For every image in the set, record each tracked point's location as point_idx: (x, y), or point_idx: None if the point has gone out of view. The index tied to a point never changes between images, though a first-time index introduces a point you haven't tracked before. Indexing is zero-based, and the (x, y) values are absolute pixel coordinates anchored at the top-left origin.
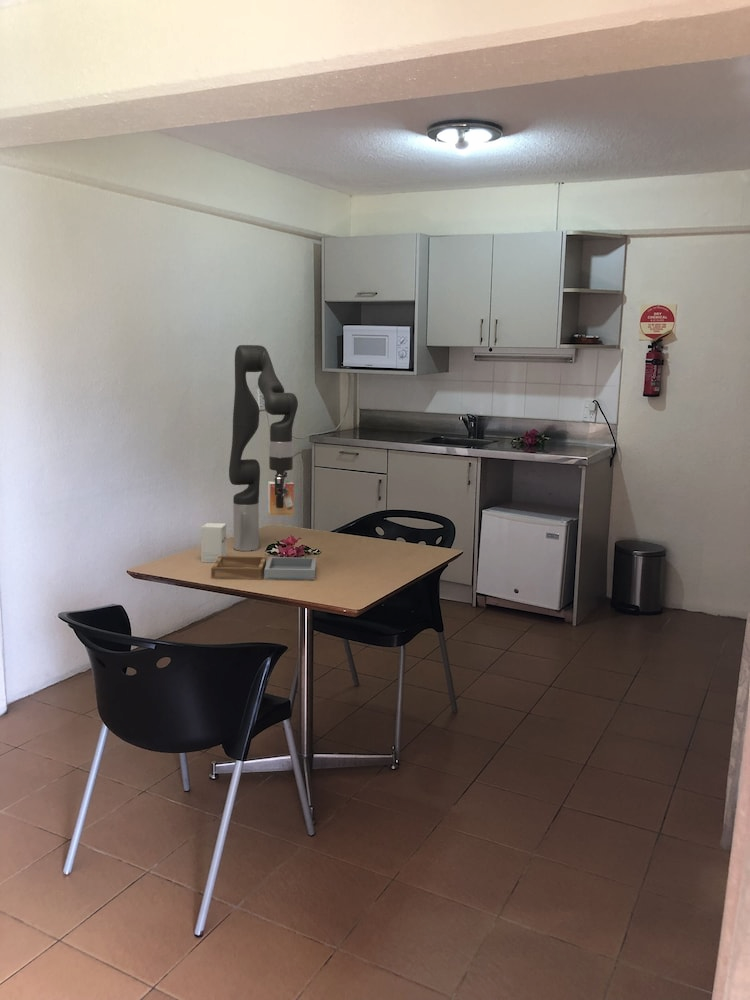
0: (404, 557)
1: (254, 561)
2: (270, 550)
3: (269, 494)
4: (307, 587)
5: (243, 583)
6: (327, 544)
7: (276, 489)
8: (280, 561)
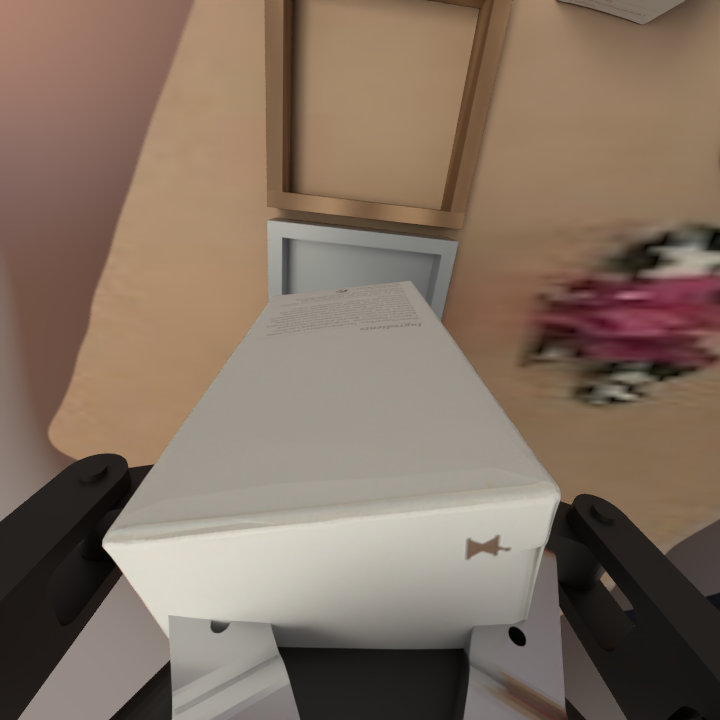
0: None
1: (453, 175)
2: (693, 245)
3: (245, 376)
4: (204, 351)
5: (221, 130)
6: (688, 428)
7: (11, 547)
8: (432, 283)
